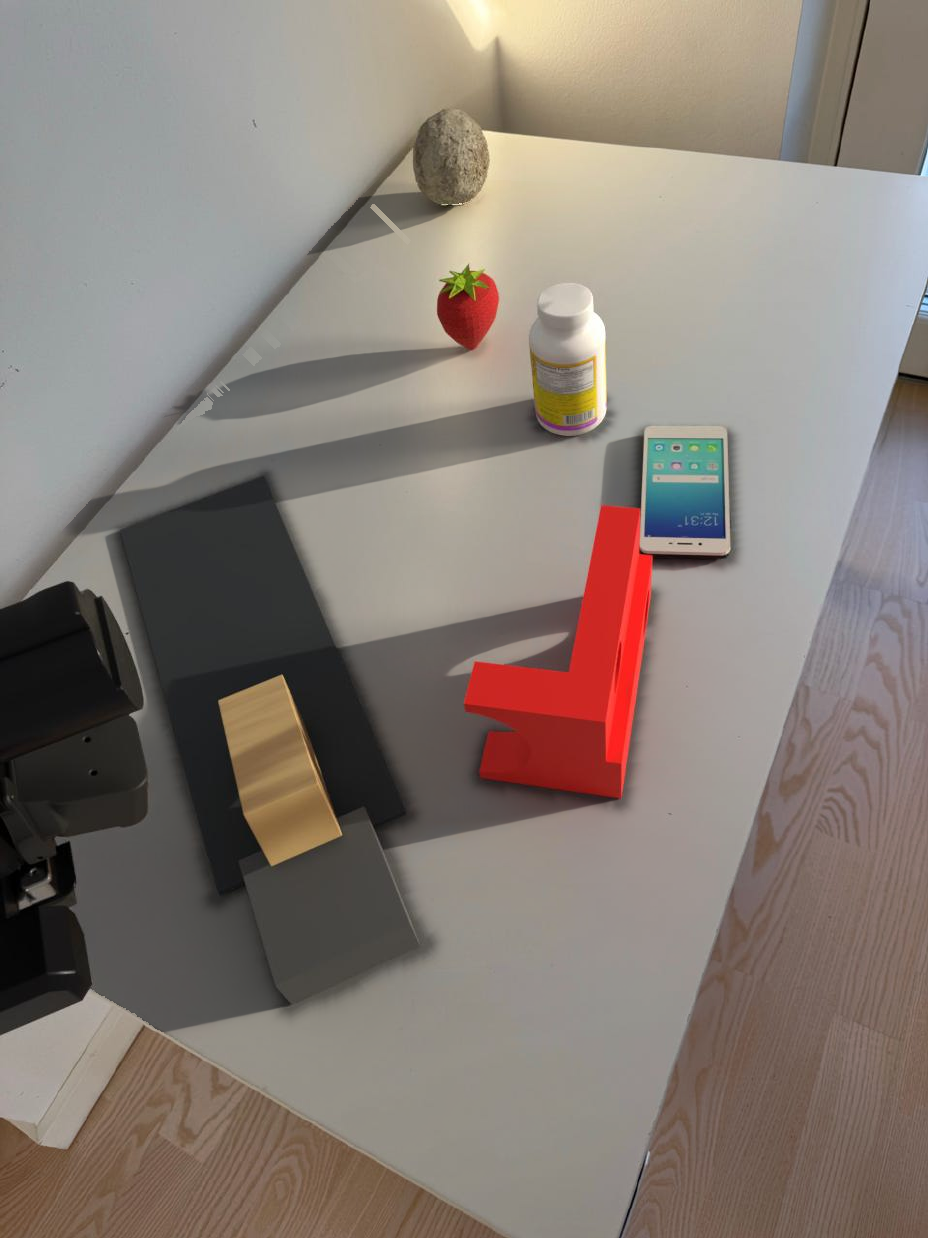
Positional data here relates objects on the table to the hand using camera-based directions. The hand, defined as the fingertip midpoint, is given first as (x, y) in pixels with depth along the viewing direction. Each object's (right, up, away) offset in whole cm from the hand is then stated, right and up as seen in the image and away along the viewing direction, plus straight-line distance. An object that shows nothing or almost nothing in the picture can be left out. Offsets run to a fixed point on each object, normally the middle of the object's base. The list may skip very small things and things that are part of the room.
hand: (67, 902), depth 56 cm
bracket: (+31, +11, +20) cm, 38 cm away
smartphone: (+41, +27, +30) cm, 58 cm away
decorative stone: (+22, +66, +62) cm, 93 cm away
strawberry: (+23, +43, +45) cm, 67 cm away
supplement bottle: (+32, +35, +37) cm, 61 cm away
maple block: (+12, +3, +8) cm, 14 cm away
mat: (+5, +13, +25) cm, 29 cm away
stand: (+14, -4, +11) cm, 18 cm away
